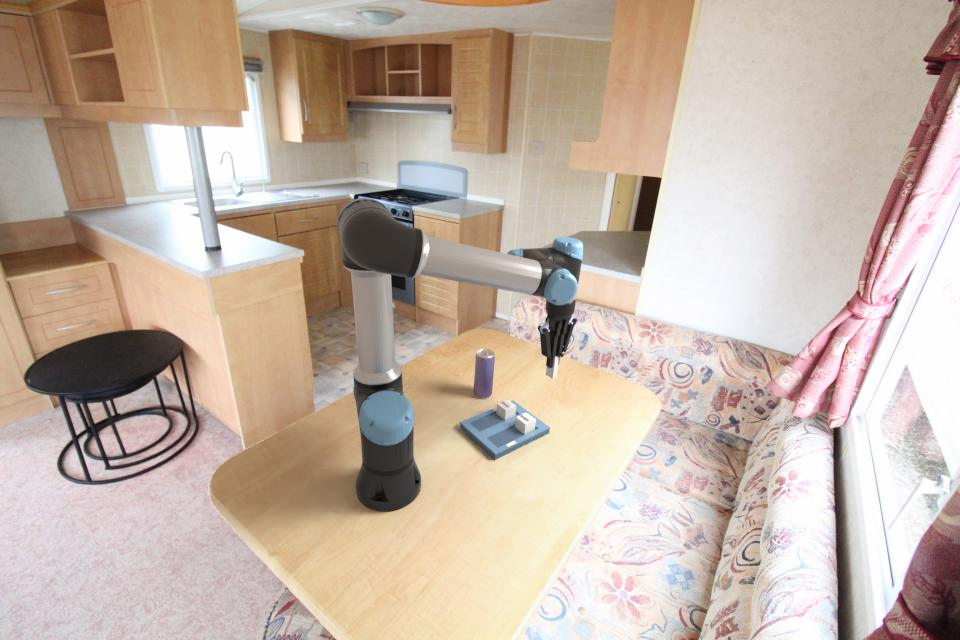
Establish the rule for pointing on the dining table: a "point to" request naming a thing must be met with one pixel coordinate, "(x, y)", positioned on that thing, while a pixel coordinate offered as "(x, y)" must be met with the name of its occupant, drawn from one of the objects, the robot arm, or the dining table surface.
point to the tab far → (506, 409)
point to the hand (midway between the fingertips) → (551, 375)
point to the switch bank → (501, 431)
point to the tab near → (525, 423)
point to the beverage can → (484, 373)
